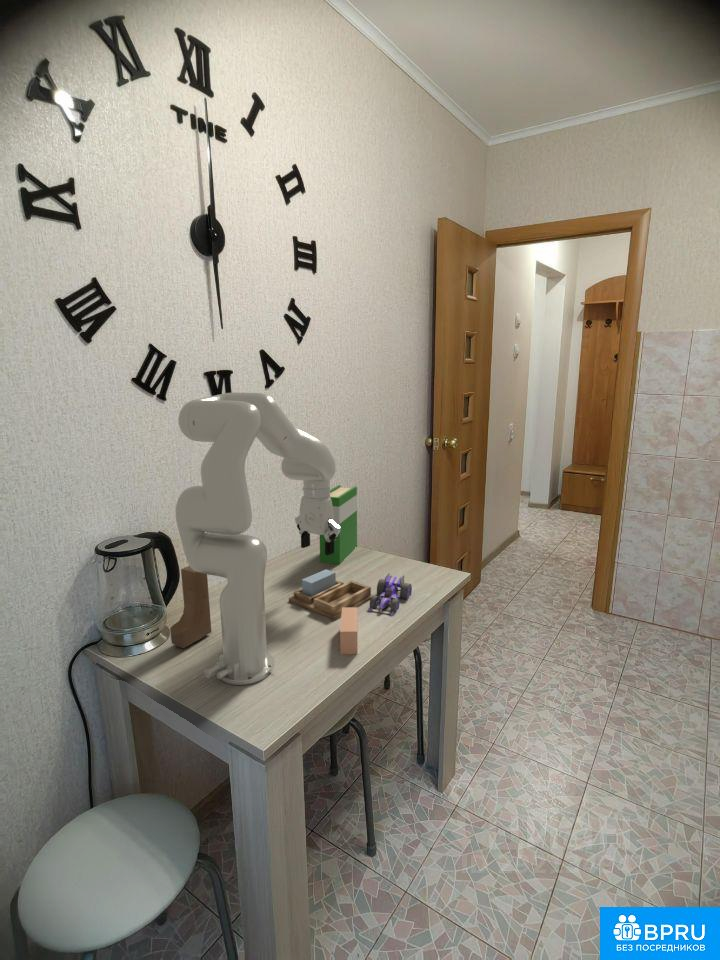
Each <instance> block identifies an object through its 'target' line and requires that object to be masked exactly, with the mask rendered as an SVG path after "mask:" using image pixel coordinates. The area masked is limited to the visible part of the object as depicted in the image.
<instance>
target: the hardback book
mask: <svg viewBox="0 0 720 960" xmlns="http://www.w3.org/2000/svg"><path fill="white" fill-rule="evenodd" d="M330 498H331V501H332V506H333V515H334V522H335V523H336V524H337V525H338V526H339V527H340V528H341V531H340V533H339V536H338V537H337V538H336V540H334V553H333V554H330V555H325V542H326V539H325V537H324V535H319V561H320V563H324V564H325V563H326V564H333V565H334V564H335V565H341V564H342V563H343V562H345V560H346V559H347V558H346V557H347V556H348V555H349V556H350V555H351V553H353V552H354V550H355V549H356V548H358V486H355V485H354V486H353V487H351V488H350V487H341V485H339V484H337V485H336V486H333V487H332V488H330ZM333 532H334V530H333ZM328 535H329V533H328ZM329 537H330V535H329ZM355 547H356V548H355ZM349 556H348V557H349ZM345 558H346V559H345ZM344 559H345V560H344Z"/></svg>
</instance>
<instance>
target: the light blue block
mask: <svg viewBox="0 0 720 960" xmlns="http://www.w3.org/2000/svg"><path fill="white" fill-rule="evenodd" d="M336 577H337V576H336V572H335V571H332V570H329V569H327V568H326V569H323V570H321V571H318V572H316V573H314V574H311V575H310V576H309V575H308V576H307V577H304V578H302V579H301V586H302V587H301V588H302V593H303V594H306V595H308V596H311V597H312V596H314V595H316V594H318V593H320V592H322V591H324V590H326V589H328V588H330V587H332V586H334V585H336V581H337V580H336Z"/></svg>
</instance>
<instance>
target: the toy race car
mask: <svg viewBox="0 0 720 960" xmlns="http://www.w3.org/2000/svg"><path fill="white" fill-rule="evenodd" d="M412 591H413V586H412V584H411V583H408V582H405V575H404V574H403V575H402V576H400V577H399V576H392V575H391V574H390V572H388V573H387V575H386V576H385V577H384V579H383V578H380V579H378V582H377V584H376V593H377V595H374V594H372V595H373V596H372V597H371V599H370V600H369V610H368V613H371V612H377V613H380V614H388V615H390V617H393V614H395V613H397V611H398V610H399V608H400V600H399V598H400V599H401V600H402V599H403V600H409V599H410V597H411V595H412ZM398 595H399V596H398ZM409 596H410V597H409ZM377 607H378V609H376V608H377ZM387 607H390V611H383V610H384V609H387Z"/></svg>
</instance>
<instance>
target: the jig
mask: <svg viewBox="0 0 720 960" xmlns="http://www.w3.org/2000/svg"><path fill="white" fill-rule="evenodd" d="M373 595H374V594H372V587H371V586H369V585H367V584H366V585H365V584H362V583H359V582H357V581H354V580H349V581H347V582H343V581H339V580H336V585H334V586H332V587H330V588H328V589H326V590H324V591H322V592H320V593H318V594H316V595H314V596H312V597H311V596H308V595H306V594H303V593H302V587H300V588H298V589H297V590H294V591H293V595H292V596H290V597H288V602H290V603H293V604H295V605H297V606H299V607H302V608H304V609H306V610H309V611H310V612H313V613H316V614H318V615H321V616H323V617H325V618H327V619H330V620H332V621H336V620H338V619H341V613H342V607H357V608H358V607H361V606H362V605H364V604H365V603H366V602H368V601H370V599H371V597H372V596H373Z"/></svg>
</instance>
